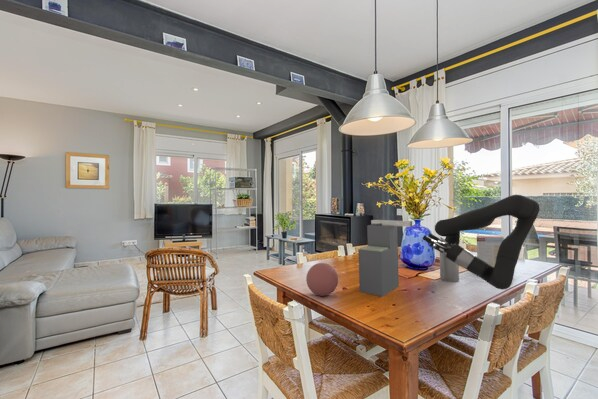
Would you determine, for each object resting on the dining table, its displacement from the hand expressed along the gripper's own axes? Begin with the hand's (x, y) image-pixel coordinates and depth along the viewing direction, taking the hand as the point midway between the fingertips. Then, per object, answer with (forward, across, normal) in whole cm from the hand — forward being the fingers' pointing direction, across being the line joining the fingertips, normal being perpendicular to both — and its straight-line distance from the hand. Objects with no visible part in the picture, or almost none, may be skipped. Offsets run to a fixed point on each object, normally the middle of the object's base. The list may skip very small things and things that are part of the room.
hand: (426, 235), depth 134 cm
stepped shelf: (+5, +5, +35) cm, 36 cm away
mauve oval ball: (+22, +28, +45) cm, 58 cm away
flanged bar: (+18, 0, +5) cm, 18 cm away
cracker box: (-29, -69, +16) cm, 76 cm away
